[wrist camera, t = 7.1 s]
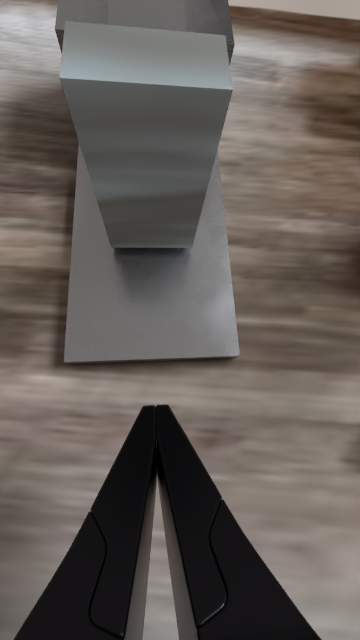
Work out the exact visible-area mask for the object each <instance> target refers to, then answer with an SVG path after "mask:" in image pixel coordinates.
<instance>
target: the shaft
mask: <svg viewBox="0 0 360 640" xmlns="http://www.w3.org/2000/svg"><path fill="white" fill-rule="evenodd" d="M60 81H61V84H62V88H63V91H64V94H65V98H66V101H67V104H68V107H69V111H70V114H71V117H72V121H73V124H74V127H75V130H76V134H77V137H78V140H79V144H80V147H81V150H82V153H83V157H84V160H85V163H86V167H87V170H88V173H89V176H90V180H91V183H92V186H93V190H94V193H95V196H96V199H97V203H98V206H99V209H100V213H101V216H102V219H103V222H104V226H105V229H106V232H107V236H108V239H109V242H110V245H111V247H112V248H192V246H193V243H194V239H195V235H196V231H197V227H198V223H199V219H200V215H201V211H202V207H203V204H204V200H205V196H206V192H207V188H208V184H209V180H210V176H211V172H212V168H213V164H214V161H215V157H216V153H217V149H218V145H219V141H220V137H221V133H222V129H223V125H224V122H225V118H226V114H227V110H228V106H229V102H230V98H231V94H232V90H233V88H232V81H231V74H230V66H229V59H228V52H227V44H226V37H225V35H216V34H205V33H194V32H182V31H171V30H160V29H149V28H138V27H127V26H115V25H104V24H93V23H82V22H71V21H65V28H64V38H63V48H62V58H61V68H60Z"/></svg>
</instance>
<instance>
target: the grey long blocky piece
mask: <svg viewBox="0 0 360 640" xmlns="http://www.w3.org/2000/svg"><path fill="white" fill-rule="evenodd" d="M65 21H71V22H82V23H93V24H104V25H115V26H127V27H138V28H149V29H160V30H171V31H182V32H194V33H205V34H216V35H225V37H226V44H227V52H228V59H229V66H230V62H231V57H232V53H233V48H234V39H233V32H232V25H231V18H230V11H229V5H228V0H58V8H57V16H56V25H55V31H56V34H57V38H58V42H59V45H60V49H61V53H62V48H63V38H64V28H65ZM238 356H240V354H239V344H238V335H237V326H236V316H235V307H234V298H233V288H232V279H231V269H230V260H229V251H228V241H227V232H226V223H225V213H224V204H223V194H222V185H221V176H220V166H219V157H218V149H217V153H216V157H215V161H214V164H213V168H212V172H211V176H210V180H209V184H208V188H207V192H206V196H205V200H204V204H203V207H202V211H201V215H200V219H199V223H198V227H197V231H196V235H195V239H194V243H193V246H192V248H112V247H111V245H110V242H109V239H108V236H107V232H106V229H105V226H104V222H103V219H102V216H101V213H100V209H99V206H98V203H97V199H96V196H95V193H94V190H93V186H92V183H91V180H90V176H89V173H88V170H87V167H86V163H85V160H84V157H83V153H82V150H81V147H80V144H79V146H78V161H77V175H76V190H75V204H74V219H73V233H72V248H71V263H70V277H69V292H68V306H67V321H66V335H65V350H64V362H65V363H68V364H83V363H110V362H137V361H164V360H192V359H219V358H236V357H238Z"/></svg>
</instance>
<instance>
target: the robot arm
mask: <svg viewBox="0 0 360 640" xmlns="http://www.w3.org/2000/svg"><path fill="white" fill-rule="evenodd" d="M156 439H157V446H156ZM157 476H158V486H159V493H160V500H161V508H162V515H163V523H164V530H165V537H166V545H167V552H168V559H169V567H170V574H171V582H172V589H173V596H174V604H175V611H176V618H177V626H178V633H179V640H322V639H321V638H320V637H319V636H318V635H317V633H316V632H315V631H314V630H313V628H312V627H311V626H310V625H309V623H308V622H307V621H306V619H305V618H304V617H303V615H302V614H301V613H300V611H299V610H298V609H297V607H296V606H295V604H294V603H293V602H292V600H291V599H290V598H289V596H288V595H287V593H286V592H285V591H284V589H283V588H282V586H281V585H280V584H279V582H278V581H277V580H276V578H275V577H274V575H273V574H272V573H271V571H270V570H269V569H268V567H267V566H266V564H265V563H264V562H263V560H262V559H261V557H260V556H259V555H258V553H257V552H256V550H255V549H254V547H253V546H252V544H251V543H250V542H249V540H248V539H247V537H246V536H245V534H244V533H243V531H242V529H241V528H240V526H239V525H238V523H237V521H236V520H235V518H234V517H233V515H232V513H231V512H230V510H229V508H228V506H227V505H226V503H225V501H224V500H222V496H221V495H220V493H219V491H218V489H217V488H216V486H215V484H214V482H213V481H212V479H211V477H210V476H209V474H208V472H207V470H206V469H205V467H204V465H203V463H202V462H201V460H200V458H199V457H198V455H197V453H196V451H195V450H194V448H193V446H192V444H191V443H190V441H189V439H188V438H187V436H186V434H185V432H184V431H183V429H182V427H181V425H180V424H179V422H178V420H177V419H176V417H175V415H174V413H173V412H172V410H171V408H170V407H169V405H157V406H156V407H155V406H154V405H149V406H143V407H142V409H141V411H140V413H139V415H138V417H137V419H136V420H135V422H134V424H133V426H132V428H131V430H130V432H129V434H128V436H127V438H126V440H125V442H124V444H123V446H122V448H121V450H120V452H119V454H118V456H117V458H116V460H115V462H114V464H113V466H112V468H111V470H110V472H109V474H108V476H107V478H106V480H105V481H104V483H103V485H102V487H101V489H100V491H99V493H98V495H97V497H96V499H95V501H94V503H93V505H92V507H91V512H89V513H88V515H87V517H86V519H85V520H84V522H83V524H82V526H81V528H80V530H79V532H78V534H77V536H76V538H75V539H74V541H73V543H72V545H71V547H70V549H69V551H68V552H67V554H66V556H65V557H64V559H63V561H62V562H61V564H60V566H59V567H58V569H57V571H56V572H55V574H54V576H53V577H52V579H51V581H50V582H49V584H48V585H47V587H46V589H45V590H44V592H43V593H42V595H41V597H40V598H39V600H38V601H37V603H36V605H35V606H34V608H33V609H32V611H31V612H30V614H29V616H28V617H27V619H26V620H25V622H24V624H23V625H22V627H21V628H20V630H19V632H18V633H17V635H16V636H15V638H14V640H142V637H143V626H144V615H145V604H146V593H147V582H148V572H149V561H150V550H151V539H152V528H153V517H154V506H155V495H156V483H157Z"/></svg>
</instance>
